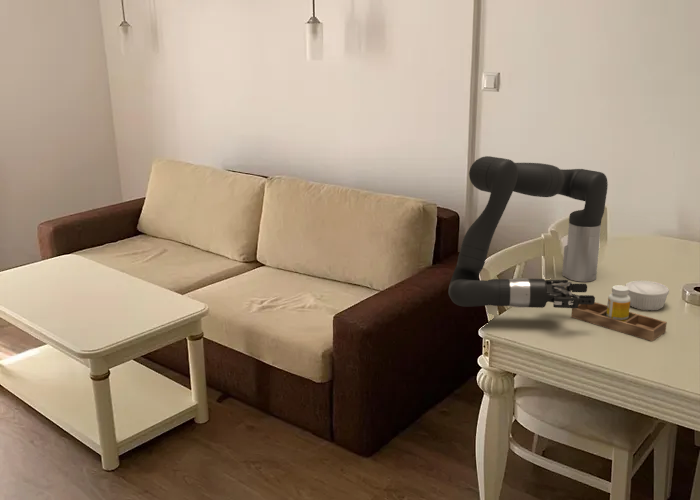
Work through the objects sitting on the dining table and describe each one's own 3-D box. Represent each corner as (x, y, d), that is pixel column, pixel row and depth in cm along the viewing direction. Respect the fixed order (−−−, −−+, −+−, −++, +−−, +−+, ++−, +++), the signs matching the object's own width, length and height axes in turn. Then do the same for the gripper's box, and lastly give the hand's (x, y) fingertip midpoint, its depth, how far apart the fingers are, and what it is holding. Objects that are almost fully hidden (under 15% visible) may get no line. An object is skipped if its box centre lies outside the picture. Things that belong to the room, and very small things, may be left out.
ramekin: (615, 303, 199) (616, 286, 198) (637, 294, 206) (639, 277, 204) (652, 316, 191) (654, 297, 189) (674, 305, 197) (676, 287, 196)
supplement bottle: (601, 320, 187) (604, 286, 184) (616, 316, 189) (620, 282, 186) (617, 328, 182) (620, 292, 179) (632, 323, 184) (636, 289, 181)
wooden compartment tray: (571, 317, 191) (572, 307, 190) (585, 309, 196) (586, 299, 195) (651, 341, 176) (653, 331, 175) (665, 331, 181) (666, 322, 180)
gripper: (531, 289, 177) (598, 290, 176) (523, 270, 191) (585, 270, 189) (529, 317, 180) (595, 318, 178) (521, 296, 193) (583, 297, 192)
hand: (590, 293), depth 184 cm, fingers open, 8 cm apart
